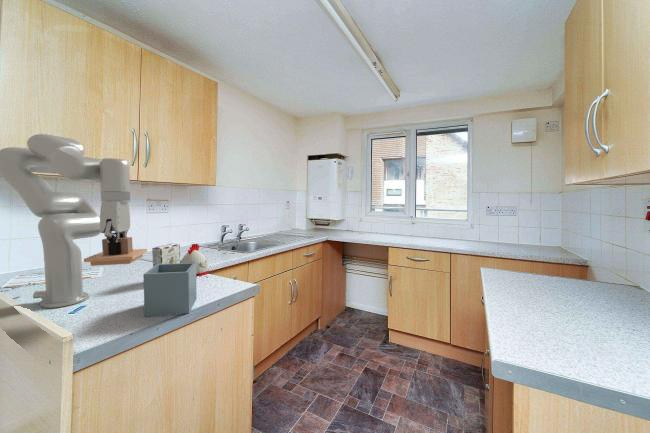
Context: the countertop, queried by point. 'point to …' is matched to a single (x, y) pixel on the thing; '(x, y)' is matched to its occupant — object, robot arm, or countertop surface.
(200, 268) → the kitchen timer
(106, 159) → the robot arm
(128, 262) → the lid
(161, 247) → the candy bar box
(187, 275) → the box
